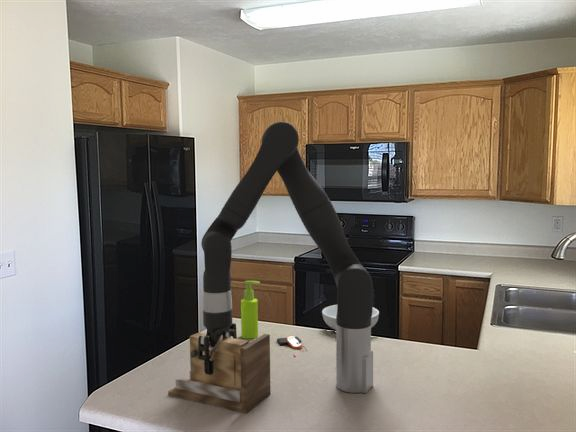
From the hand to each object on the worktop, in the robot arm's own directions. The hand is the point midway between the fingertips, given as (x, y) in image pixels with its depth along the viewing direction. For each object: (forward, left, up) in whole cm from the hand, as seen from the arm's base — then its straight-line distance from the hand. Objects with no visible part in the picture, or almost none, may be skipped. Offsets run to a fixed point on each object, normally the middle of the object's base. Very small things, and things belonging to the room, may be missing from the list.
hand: (218, 368), depth 134 cm
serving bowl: (-12, -68, -7) cm, 69 cm away
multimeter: (-4, -41, -8) cm, 42 cm away
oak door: (0, 0, -6) cm, 6 cm away
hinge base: (0, 0, -7) cm, 7 cm away
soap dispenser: (+17, -45, -7) cm, 49 cm away
